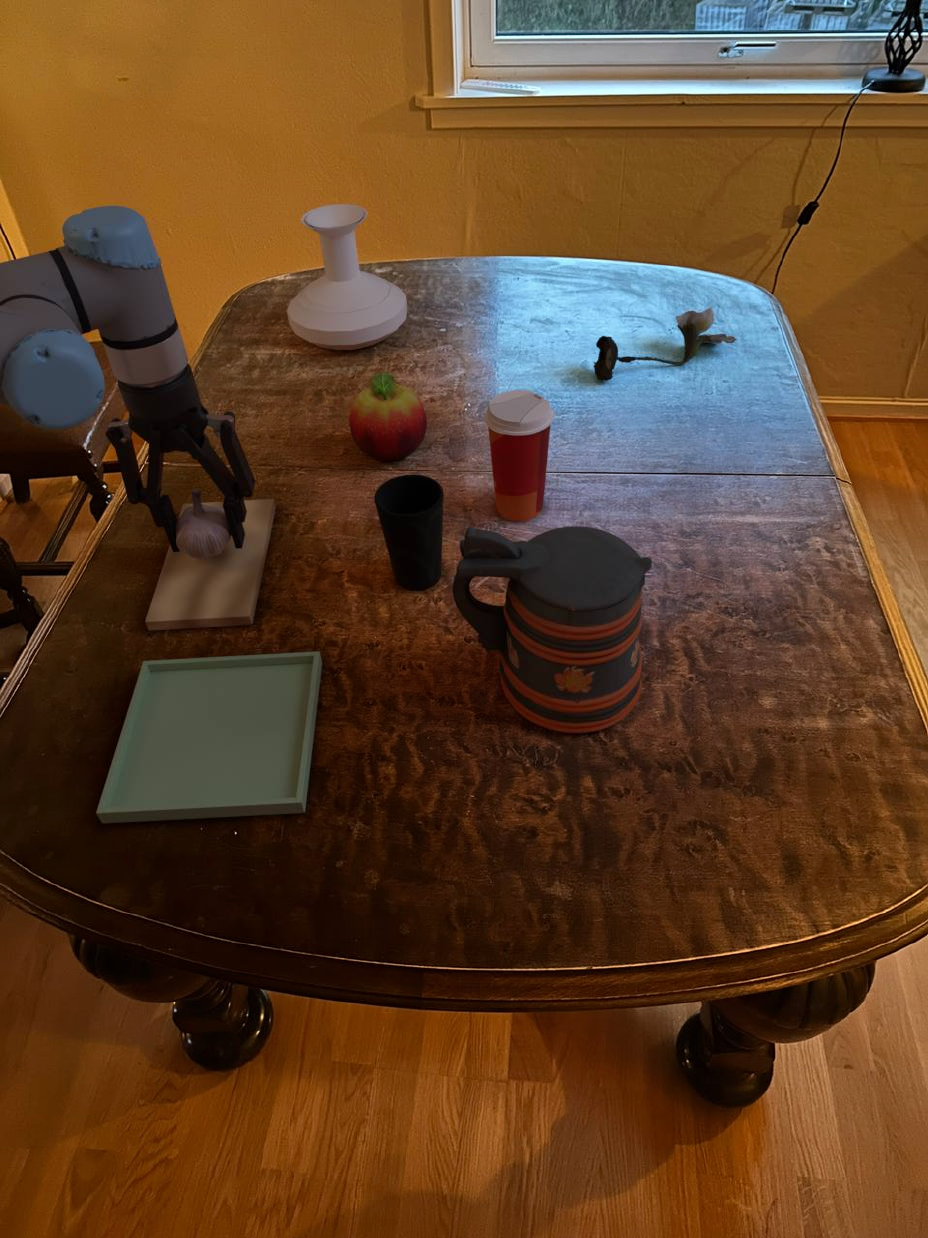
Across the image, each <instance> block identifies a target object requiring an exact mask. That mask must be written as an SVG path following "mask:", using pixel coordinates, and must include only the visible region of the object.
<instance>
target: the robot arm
mask: <svg viewBox="0 0 928 1238" xmlns="http://www.w3.org/2000/svg"><path fill="white" fill-rule="evenodd" d="M61 228H62V229H61V230H62V235H63V240H62V241H63V244H64V245H62V246H59V247H56V248H55V249H51V250H48V251H43V252H39V253H35V254H31V255H28V256H23V257H18V258H14V259H11V260H7V261H2V262H0V405H7V406H8V407H10V408H12V409H13V411H14V412H15V413H16V414H17V415H18V416H19V417H20V418H22V419H23V420H24V421H26V422H27V423H29V424H31V425H34V426H36V427H38V428H40V429H44V430H49V431H50V430H51V431H62V430H63V431H64V430H68V429H72V428H75V427H77V426H80V425H82V424H84V423H86V422H87V421H88V420H90V419H91V418H92V417H93V416H94V415H95V414H96V412H97V411H98V410H99V408H100V406H101V404H102V402H103V400H104V396H105V395H106V392H105V391H106V381H105V375H104V372H103V369H102V367H101V365H100V363H99V360H98V358H97V356H96V351H95V349H94V348H93V346H92V345H91V344H90V342H89V341H88V340H87V338H85V337H84V336H83V335H85V334H88V333H91V332H92V331H96V330H97V331H98V334H99V337H100V339H101V342H102V345H103V348H104V351H105V353H106V356H107V359H108V362H109V365H110V368H111V371H112V374H113V376H114V377H115V379H116V380H117V386H118V390H119V392H120V395H121V398H122V400H123V403H124V406H125V409H126V411H127V413H128V418H126V419H123V420H122V419H120V418H117V417H114V418H112V419H111V421H110V422H109V425H108V427H107V429H106V431H105V436H106V439H107V440H108V441H109V442H110V445H112V447H113V448H114V451H115V454H116V459H117V462H118V467H119V470H120V474H121V477H122V481H123V487H124V491H125V493H126V497H127V501H128V503H130V504H131V505H138V504H142V505H145V506H146V507H147V508H148V510H149V512H150V514H151V517H152V520H153V522H154V525H155V526H156V527H157V528H163V529H164V531H165V535H166V537H167V540H168V543H169V546H170V545H171V548H172V551H173V552H179V551H180V550H179V548H178V547H177V544H176V532H175V526H176V523H177V520H178V518H177V517H178V516H177V515H176V512H175V511H176V510H175V508H174V507H173V506H174V505H173V502H172V500H171V497H170V494H162V495H161V493H162V490H163V488H162V484H163V471H164V461H165V454H170V453H173V452H181V453H188V454H189V456H190V457H191V458H192V460H194V461H197V463H199V465H200V466H201V467H202V469H203V470H204V471H205V473H206V474H207V476H208V477H209V478H210V479H211V480H212V482H213V483H214V484H215V486H216V487H217V489H218V490H219V491H220V492H221V494H222V495H223V496H224V498H223V501H222V502H223V508H224V512H225V515H226V518H227V521H228V525H229V528H230V531H231V535H232V538H233V541H234V545H235V548H236V549H240V548H242V546H243V542H244V538H245V531H244V528H243V524H242V522H245V518H246V513H247V510H246V506H245V503H244V500H245V499H244V498H246V499H249V498H252V497H253V494H254V490H255V485H256V478H255V476H254V473H253V471H252V468H251V466H250V464H249V461H248V459H247V456H246V453H245V451H244V449H243V447H242V444H241V442H240V438H239V437H238V436H239V435H238V434H237V431H236V415H235V413H234V412H232V411H230V410H227V411H225V412H224V413H223V414H222V415H221V414H216V413H210V412H209V410H208V409H207V408H206V407H205V406H204V404H203V403H202V401H201V397H200V393H199V390H198V386H197V382H196V380H195V376H194V373H193V369H192V367H191V365H190V364H189V358H188V354H187V350H186V347H185V343H184V340H183V335H182V332H181V329H180V326H179V323H178V320H177V317H176V313H175V310H174V306H173V303H172V299H171V296H170V292H169V289H168V285H167V280H166V278H165V274H164V271H163V266H162V259H161V257H160V256H159V253H158V251H157V249H156V246H155V242H154V241H153V237H152V235H151V232H150V229H149V225H148V223H147V221H146V218H145V217H144V216H143V215H142V214H141V213H139V212H138V211H137V210H135V209H133V208H131V207H126V206H122V205H102V206H96V207H92V208H88V209H84V210H83V211H81V212H80V213H75V214H72V215H71V216H69V217H68V218H66V220H65V221H64V223H62V227H61ZM207 427H210V428H211V429H212V430H213V433H214V434H215V436H216V437H217V438H219V439H220V445H221V448H222V450H223V453H224V454H225V457H226V459H227V462H228V464H229V467H230V469H231V470H230V469H229V467H228V466H227V465H226V462H224V460H223V459H222V458H221V456H220V455H219V454H218V452H217V451H216V450H215V449H214V447H213V446H212V445H211V442H210V439H209V437H208V435H206V433H205V431H206V429H207ZM133 433H134V434H135V435H137V436H138V437H139V438H140V439H142V440H143V441H145V443H147V444H148V448H147V449H148V450H147V460H148V461H147V462H148V463H147V474H146V475H147V476H146V477H147V478H146V487H144V484H143V479H142V474H141V470H140V467H139V462H138V458H137V454H136V450H135V445H134V441H133V438H132V437H133V435H134V434H133Z"/></svg>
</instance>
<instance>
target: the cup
mask: <svg viewBox="0 0 928 1238" xmlns="http://www.w3.org/2000/svg"><path fill="white" fill-rule="evenodd" d="M444 494H445V493H444V488H443V487H442V486H441V484H440V483H439V482H438V481H437V480H436V479H434V478H432V477H429V476H427V475H423V474H415V473H414V474H402V475H398V476H395V477H391V478H390V479H388V480H386V481H384V482H383V483H382V484H381V485H379V486H378V488H377V489H376V491H375V493H374V496H373V499H374V504H375V509H376V512H377V516H378V519H379V524H380V527H381V531H382V534H383V538H384V542H385V546H386V550H387V553H388V556H389V561H390V564H391V568H392V573H393V576H394V580H395V581H396V584H397V585H398V586H400V587H401V588H403V589H404V590H408V591H411V592H419V591H420V592H421V591H425V590H428V589H431V588H433V587H434V586H436V585H437V584H438V583H439V582H440V580H441V578H442V566H443V565H442V563H443V532H444V531H443V529H444V526H443V525H444Z"/></svg>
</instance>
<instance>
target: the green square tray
mask: <svg viewBox="0 0 928 1238" xmlns="http://www.w3.org/2000/svg"><path fill="white" fill-rule="evenodd" d="M322 667H323V659H322V655H321V652H320V651H300V652H284V653H282V652H281V653H264V654H247V655H246V654H245V655H244V654H243V655H228V656H209V657H192V658H176V659H175V658H173V659H156V660H143V661H142V665H141V667H140V671H139V674H138V677H137V680H136V682H135V686H134V690H133V693H132V697H131V699H130V702H129V706H128V709H127V712H126V716H125V719H124V722H123V726H122V728H121V732H120V735H119V738H118V742H117V745H116V748H115V751H114V754H113V757H112V760H111V764H110V768H109V770H108V774H107V776H106V780H105V784H104V785H103V786H104V787H103V789H102V792H101V796H100V799H99V803H98V805H97V808H96V812H95V814H96V816H97V817H98V819H99V820H100V822H101V824H120V823H138V822H139V823H140V822H157V821H177V820H198V819H216V818H217V819H218V818H234V817H254V816H273V815H274V816H275V815H287V814H288V815H290V814H291V815H293V814H305V813H306V807H307V798H308V791H309V789H308V788H309V780H310V773H311V764H312V754H313V745H314V739H315V730H316V729H315V728H316V721H317V720H316V719H317V712H318V703H319V695H320V694H319V693H320V685H321V678H322V677H321V676H322V669H323V668H322Z"/></svg>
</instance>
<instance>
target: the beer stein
mask: <svg viewBox="0 0 928 1238" xmlns="http://www.w3.org/2000/svg"><path fill="white" fill-rule="evenodd" d="M459 551H460V554H461V557H462V559H460V560H459V561H458V564H457V565H456V569H455V571H456V573H455V575H454V579H453V581H452V596H453V600H454V603H455V606H456V607H457V610H458V611H459V613H460V614H461V615H462V617H463V618H464V620H465V621H466V622H467V623H468V625H469V626H470V627H471V628H472V629H473V630H474V631H475V632H476V633H477V634H478V636H477V644H478V645H479V647H481V648H483V649H485V651H486V652H487V653H490V652H491V651H498V653H499V661H498V662H499V663H498V665H499V668H498V672H499V675H500V683H501V687H502V690H503V694H504V696H505V697H506V699H507V701H508V702H509V703H510V705H511V707H513V708H514V710H516V711H517V713H518V714H520V716H522V717H523V718H524V719H525V720H526V721H528V722H531V723H533V724H535V725H537V726H539V727H541V728H544V729H547V730H551V731H553V732H554V731H555V732H559V733H564V734H565V733H566V734H589V733H595V732H599V731H603V730H605V729H608V728H610V727H612V726H615V725H616V724H618V723H619V722H620V721H622V720H623V719H625V718H626V716H627V715H629V714H630V712H631V711H632V710H633V708H635V706H636V704H637V703H638V701H639V698H640V696H641V692H642V689H643V679H642V671H643V670H642V668H643V655H642V648H641V643H640V641H639V640H640V639H639V638H640V637H639V634H640V632H641V629H642V621H643V620H642V619H643V618H642V617H643V612H642V611H643V609H642V608H643V607H642V605H643V603H642V597H643V587H644V586H645V583H646V574H647V573H648V572H649V571H650V570H651V569H652V563H653V559H652V558H651V557H648V556H647V557H646V556H645V557H641V555H639V553H638V552H637V551H636V550H635V549H634V548H633V547H632V546H631V545H630V544H629V543H627V542H626V541H624V540H623V539H622V538H620V537H619V536H617V535H615V534H613V533H611V532H609V531H606V530H603V529H600V528H596V527H591V526H584V525H583V526H582V525H573V526H572V525H571V526H561V527H558V528H557V527H556V528H552V529H550V530H546V531H543V532H542V533H540V534H537V535H536V536H534V537H532V538H530V539H529V540H527V541H526V540H518V541H512V540H510V539H509V538H508V537H506V536H504V535H503V534H500V533H497V532H495V531H493V530H488V529H487V530H486V529H476V528H474V527H472V526H470V527H467V528H466V529H465V533H464V539H461V540H460V541H459ZM476 577H477V578H501V579H502V578H503V579H504V578H505V579H508V581H507V584H506V585H507V587H506V591H505V597H504V598H505V601H504V604H503V605H497V604H496V605H495V604H490V603H487V602H483V601H482V600H479V599H478V598H476V596H474V595H473V594H472V592H471V590H470V586H471V582H472V580H473V579H474V578H476Z"/></svg>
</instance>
